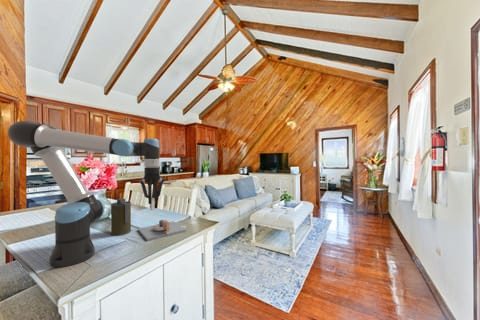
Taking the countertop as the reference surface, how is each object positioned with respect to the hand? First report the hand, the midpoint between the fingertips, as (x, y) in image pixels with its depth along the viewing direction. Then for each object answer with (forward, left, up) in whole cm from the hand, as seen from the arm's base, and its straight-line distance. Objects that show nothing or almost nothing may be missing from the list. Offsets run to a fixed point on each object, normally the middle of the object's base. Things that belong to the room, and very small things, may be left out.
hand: (152, 209), depth 108 cm
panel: (+8, +8, -16) cm, 19 cm away
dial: (+8, +6, -14) cm, 17 cm away
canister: (-11, +21, -16) cm, 29 cm away
